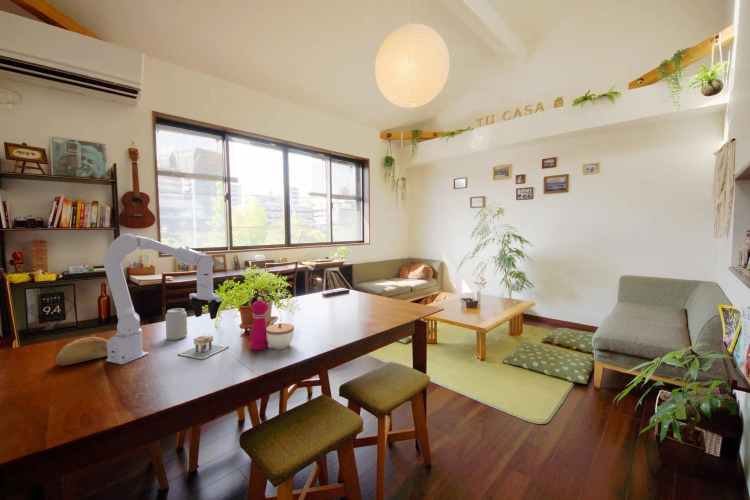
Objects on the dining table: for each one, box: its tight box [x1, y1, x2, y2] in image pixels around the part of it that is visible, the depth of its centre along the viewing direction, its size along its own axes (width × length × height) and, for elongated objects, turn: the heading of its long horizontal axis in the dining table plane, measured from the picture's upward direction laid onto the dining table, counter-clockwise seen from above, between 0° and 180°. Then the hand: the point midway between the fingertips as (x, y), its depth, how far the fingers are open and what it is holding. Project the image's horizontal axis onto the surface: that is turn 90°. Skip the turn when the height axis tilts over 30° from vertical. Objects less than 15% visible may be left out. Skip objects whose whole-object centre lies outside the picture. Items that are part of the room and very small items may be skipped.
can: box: [164, 307, 188, 341], centre depth 132 cm, size 8×8×12 cm
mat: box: [177, 343, 229, 361], centre depth 119 cm, size 12×12×1 cm
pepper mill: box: [249, 296, 269, 351], centre depth 124 cm, size 7×7×20 cm
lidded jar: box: [266, 322, 295, 350], centre depth 125 cm, size 11×11×9 cm
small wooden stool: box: [193, 334, 214, 353], centre depth 119 cm, size 5×4×5 cm
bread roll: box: [55, 336, 109, 366], centre depth 110 cm, size 10×15×8 cm, turn 136°
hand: (205, 317), depth 127 cm, fingers open, 7 cm apart
